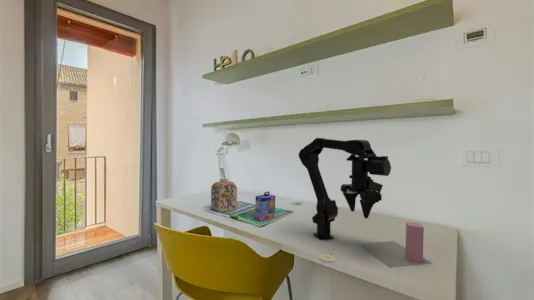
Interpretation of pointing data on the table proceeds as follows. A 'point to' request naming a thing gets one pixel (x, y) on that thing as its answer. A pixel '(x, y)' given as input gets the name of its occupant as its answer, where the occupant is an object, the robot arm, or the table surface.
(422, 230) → the pink box
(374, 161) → the robot arm
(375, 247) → the mat
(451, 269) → the table surface
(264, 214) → the ink cartridge box
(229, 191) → the decorative jar
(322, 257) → the sign
